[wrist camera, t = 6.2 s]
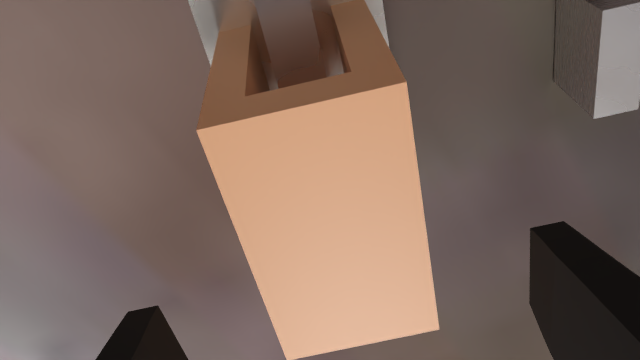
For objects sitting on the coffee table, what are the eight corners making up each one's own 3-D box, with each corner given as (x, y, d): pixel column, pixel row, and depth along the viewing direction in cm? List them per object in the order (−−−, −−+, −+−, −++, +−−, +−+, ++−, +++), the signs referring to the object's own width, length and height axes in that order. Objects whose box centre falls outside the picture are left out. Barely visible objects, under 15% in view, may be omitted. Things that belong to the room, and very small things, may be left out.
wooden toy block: (600, -27, 15) (653, -1, 13) (592, 72, 17) (638, 108, 15) (556, -16, 15) (602, 10, 13) (553, 81, 17) (593, 118, 15)
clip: (363, -2, 14) (406, 81, 10) (396, 202, 18) (439, 329, 14) (218, 32, 15) (196, 130, 10) (282, 227, 19) (287, 360, 14)
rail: (298, -554, 9) (309, -699, 7) (413, 224, 20) (436, 289, 17) (27, -475, 10) (-62, -582, 7) (278, 253, 20) (280, 321, 17)
